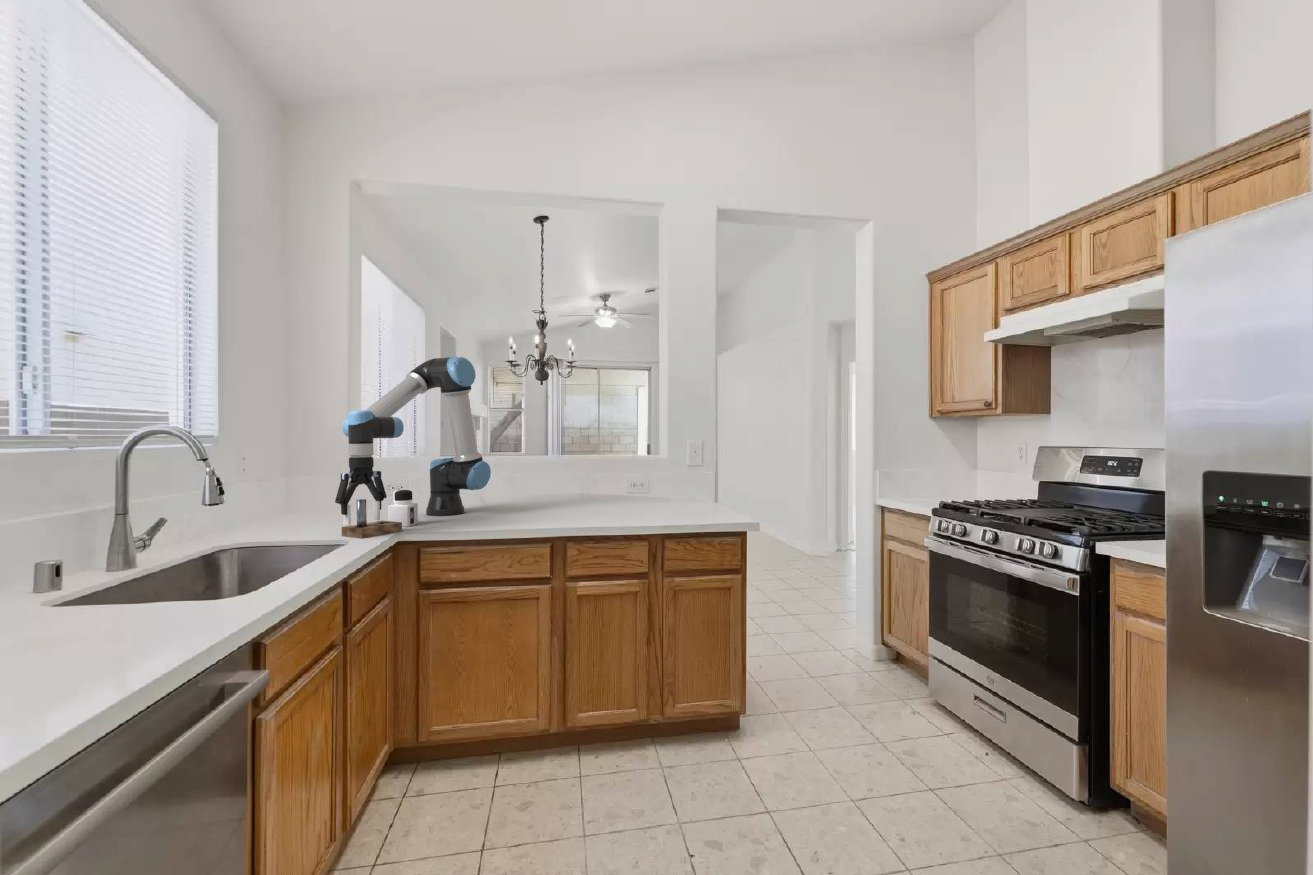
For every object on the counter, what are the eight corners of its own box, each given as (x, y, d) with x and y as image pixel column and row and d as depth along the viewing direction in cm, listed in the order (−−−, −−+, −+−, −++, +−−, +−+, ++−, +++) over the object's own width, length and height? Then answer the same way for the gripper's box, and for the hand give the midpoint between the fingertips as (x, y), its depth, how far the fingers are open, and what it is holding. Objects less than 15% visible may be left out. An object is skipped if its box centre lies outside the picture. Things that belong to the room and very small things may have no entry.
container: (418, 523, 234) (417, 489, 234) (408, 527, 227) (407, 491, 227) (398, 523, 235) (398, 489, 235) (387, 526, 228) (387, 491, 227)
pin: (362, 534, 212) (362, 498, 212) (368, 534, 211) (368, 499, 210) (355, 535, 209) (354, 499, 209) (360, 536, 208) (360, 500, 208)
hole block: (382, 528, 223) (382, 520, 223) (402, 530, 218) (401, 522, 218) (341, 535, 209) (341, 527, 209) (361, 538, 204) (361, 529, 204)
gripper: (382, 454, 222) (383, 516, 222) (321, 457, 201) (322, 526, 202) (397, 455, 218) (398, 518, 218) (337, 458, 198) (338, 527, 198)
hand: (362, 522), depth 210 cm, fingers open, 10 cm apart
